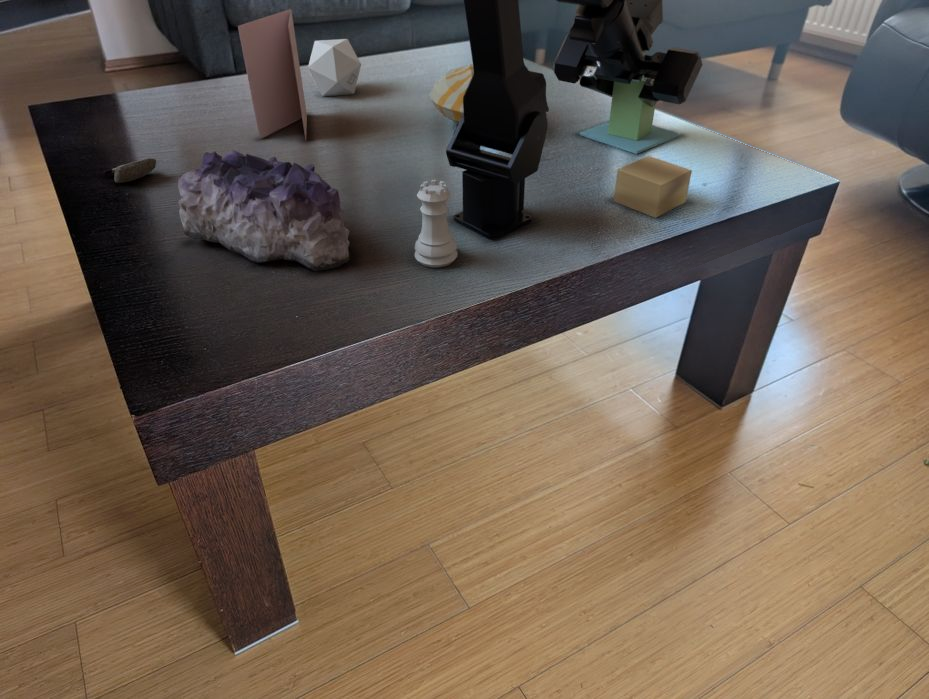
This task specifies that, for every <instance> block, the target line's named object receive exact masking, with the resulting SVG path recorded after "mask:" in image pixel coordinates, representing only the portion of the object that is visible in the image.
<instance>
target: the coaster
mask: <svg viewBox="0 0 929 699" xmlns="http://www.w3.org/2000/svg"><path fill="white" fill-rule="evenodd" d="M608 127H609V121H606V122H605V123H601V124H599V125H596V126H593V127H591V128H587V129H585V130H582V131H580V132H579V136H581V137H584V138H587V139H590V140H593V141H596V142H598V143H602V144H605V145H608V146H611V147H614V148H616V149H620V150H623V151H625V152H629V153H632V154H635V155H638V154H641V153H643V152H645V151H648V150H649V149H651V148H655V147H656V146H660V145H661V144H664V143H666V142H668V141H671V140H673V139H676V138H677V137H680V132H676V131H673V130H670V129H666V128H663V127H660V126H656V125H653V124H652V130H651V132H650V133H648V134H646V135H645V136H643V137H642V138H640V139H639V140H637V141H636V140H632V139H628V138H623V137H619V136H615V135H611V134H608Z"/></svg>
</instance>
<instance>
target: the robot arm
mask: <svg viewBox="0 0 929 699" xmlns="http://www.w3.org/2000/svg"><path fill="white" fill-rule="evenodd" d="M556 2H558V3H562V4H570V5H577V6H576V8H575V12H574V18H573V19H574V20H573V22H572V24H571V26H570V29H569V33H567V35H566V36H565V38H564V39H563V42H562V44H561V46H560V48H559V50H558V52H557V55H556V57H555V59H554V61H553V63H552V64H553V66H552V70H553V73H554V75H555V77H556V78H557V80H558V81H559V82H564V83H569V84H577V83H579V86H580V87H582V88H585V89H588V90H591V91H593V92H596V93H599V94H602V95H605V96H606V97H610V98H612V94H613V86H614V81H615V82H620V83H625V84H630V83H631V81H638V82H640V81H641V80H642V78H644V80H645V83H644V86H643V88H642V90H641V92H640V94H639V96H638V98H639V99H641V100H642V101H643V102H645V103H646V104H647V105H649V106H651V107H655V108H656V104H657V102H666V103H668V104H669V103H670V104H675V105H679V106H680V105H681V104H684V103H685V102H686V101H687V100H688V97H689V95H690V93H691V91H692V88H693V87H694V84H695V82H696V80H697V78H698V77H699V76H698V75H699V73H700V72H701V69H702V68H703V60H702V57H701V55H700V53H699V51H698V50H691V49H686V48H678V47H671V48H668V49H667V51H666V52H662V51H656V52H655V53H653V54H652V55H649V54H645V53H646V52H647V51H648V52H649V51H650V50H651V48H652V47H653V44H654V41H653V40H654V39H653V36H652V35H653V34H654V32H655V31H656V30H657V29H658V27H659V26H660V25H661V24H662V23H663V22H664V9H663V7H664V5H663V0H556ZM463 5H464V6H463V7H464V11H465V20H466V26H467V33H468V39H469V48H470V53H471V61H472V64H473V71H474V73H473V76H472V78H471V80H470V83H469V85H468V87H467V89H466V91H465V94H464V96H463V116H462V118H461V120H460V122H458V124H457V127H456V129H455V130H454V132H453V134H452V137H451V139H450V141H449V143H448V145H447V147H446V150H445V154H446V157H447V161H448V164H449V166H450V167H452V168H458V169H462V170H463V171H462V172H461V174H462V175H461V176H462V178H461V182H462V211H460V212H458V213H456V214H454V215H453V216H452V218H453V221H454V222H456V223H458V224H460V225H462V226H464V227H466V228H468V229H470V230H472V231H474V232H476V233H478V234H479V235H481V236H483V237H486V238H488V239H492V240H493V239H496V238H499V237H501V236H503V235H505V234H507V233H509V232H511V231H513V230H516V229H518V228H520V227H522V226H525V225H527V224H529V223H531V222H532V220H533V218H532V217H533V216H532V215H529V214H528V213H525V212H523V211H524V207H525V191H526V190H525V189H526V187H525V186H526V179H527V178H528V177H530V176H532V175H534V174H535V173H537V172H538V170H539V167H540V162H541V158H542V154H543V150H544V146H545V142H546V138H547V133H548V127H549V126H548V124H549V123H548V118H547V113H548V112H549V111H550V108H549V105H548V102H547V80H546V78H545V76H544V74H543V73H542V72H537V71H532V70H530V69H529V68H528V67H527V66H526V64H525V61H524V51H523V50H524V48H523V39H522V38H523V37H522V28H521V15H520V3H519V0H463ZM643 75H644V77H643ZM481 147H482V148H486V149H489V150H494V151H498V152H501V153H506V154H509V155H511V157H509V156H506V155H502V154H499V153H495V152H492V151H487V150H484V149H481Z"/></svg>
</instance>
